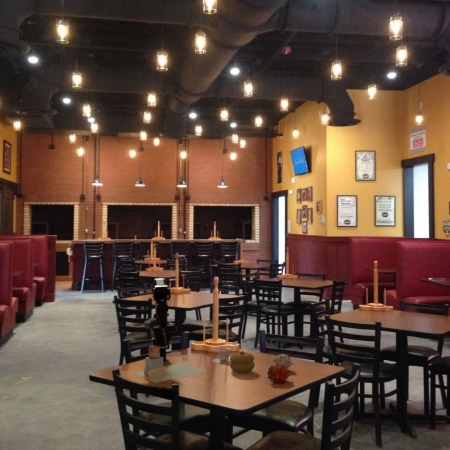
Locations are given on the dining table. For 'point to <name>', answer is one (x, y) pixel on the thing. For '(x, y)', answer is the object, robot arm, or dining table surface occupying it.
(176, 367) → the felt mat
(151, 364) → the tower top
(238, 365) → the pot
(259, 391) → the dining table surface
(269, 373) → the dragon fruit
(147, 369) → the tower base
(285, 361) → the game die
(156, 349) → the terracotta cylinder
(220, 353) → the teacup
